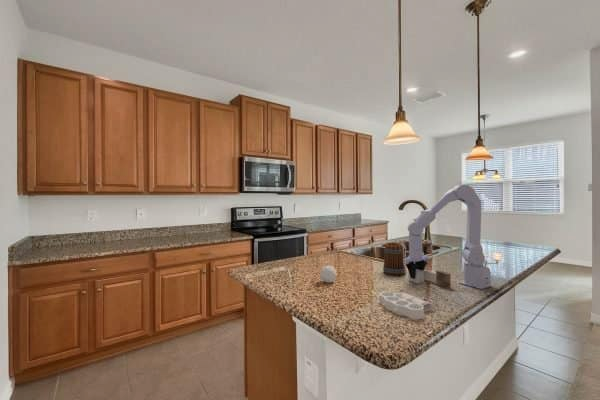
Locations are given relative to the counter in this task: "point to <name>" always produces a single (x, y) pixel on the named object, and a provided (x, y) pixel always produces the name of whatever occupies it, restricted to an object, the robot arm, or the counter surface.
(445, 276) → the wall
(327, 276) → the ball
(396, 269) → the mug
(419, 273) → the white small block
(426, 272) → the door
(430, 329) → the counter surface
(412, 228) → the robot arm
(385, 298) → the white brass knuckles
